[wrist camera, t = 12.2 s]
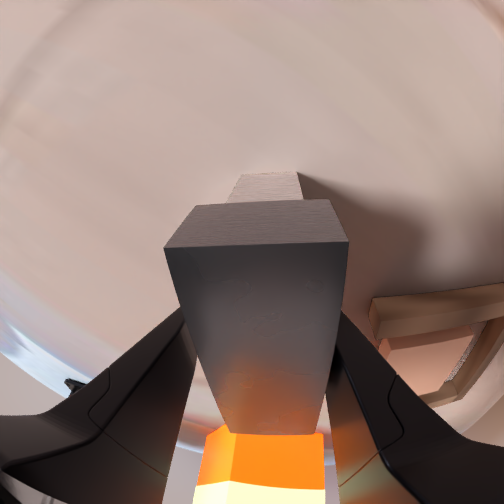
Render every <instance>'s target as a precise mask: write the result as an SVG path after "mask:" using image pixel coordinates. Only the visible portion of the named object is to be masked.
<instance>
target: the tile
mask: <svg viewBox="0 0 504 504" xmlns="http://www.w3.org/2000/svg"><path fill="white" fill-rule="evenodd" d="M473 336H474V333H473V332H472V330H471V328H470V326H469V325H464V326H460V327H455V328H450V329H444V330H439V331H434V332H428V333H422V334H415V335H409V336H401V337H394V338H386V339H382V341H381V344H380V347H379V349H378V352H379V353H380V354H381V355H382V356H383V357H384V358H385V359H386V361H387V362H388V363H389V364H390V365H391V366H392V367H393V369H394V370H395V371H396V372H397V374H399V375H400V376H401V378H402V379H403V380H404V381H405V382H406V383H407V384H408V386H409V387H410V388H411V389H412V390H413V391H414V392H415V393H416V394H417V395H418V396H419V395H423V394H427V393H431V392H435V391H438V390H439V389H440V387H441V386H442V385H443V383H444V382H445V380H446V379H447V378H448V376H449V375H450V373H451V372H452V370H453V369H454V367H455V366H456V364H457V363H458V361H459V360H460V358H461V357H462V355H463V353H464V352H465V350H466V348H467V347H468V345H469V343H470V342H471V340H472V338H473Z"/></svg>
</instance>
